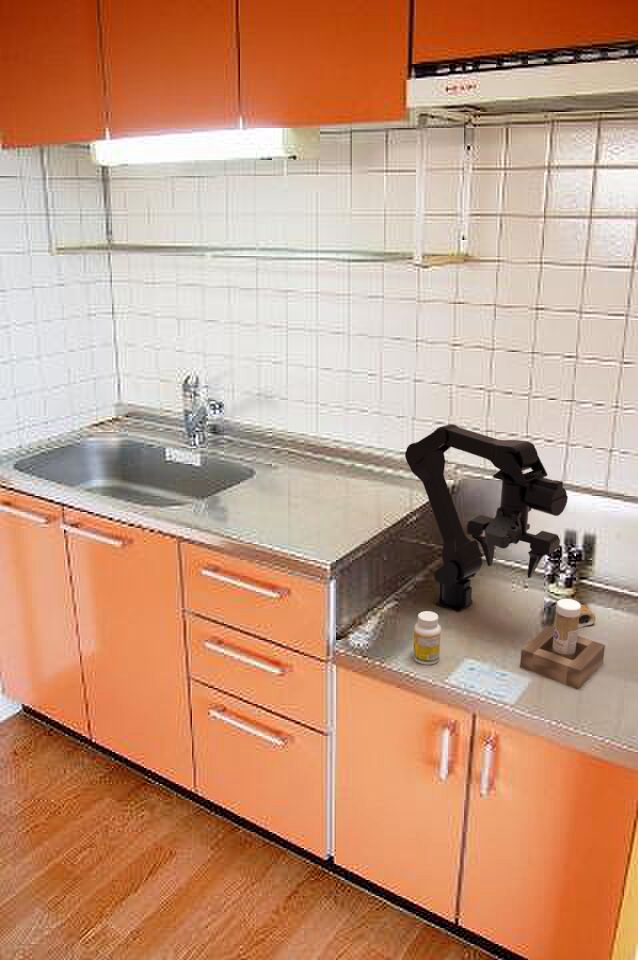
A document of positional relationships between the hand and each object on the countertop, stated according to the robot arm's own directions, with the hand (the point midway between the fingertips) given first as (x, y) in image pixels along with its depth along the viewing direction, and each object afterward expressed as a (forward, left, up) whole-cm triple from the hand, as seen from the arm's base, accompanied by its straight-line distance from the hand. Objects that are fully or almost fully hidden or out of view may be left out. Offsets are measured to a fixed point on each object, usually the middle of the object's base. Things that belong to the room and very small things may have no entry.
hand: (509, 571), depth 167 cm
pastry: (+10, +13, -14) cm, 21 cm away
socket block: (+16, -7, -13) cm, 22 cm away
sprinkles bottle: (+16, -7, -13) cm, 22 cm away
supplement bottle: (-6, -22, -13) cm, 26 cm away
